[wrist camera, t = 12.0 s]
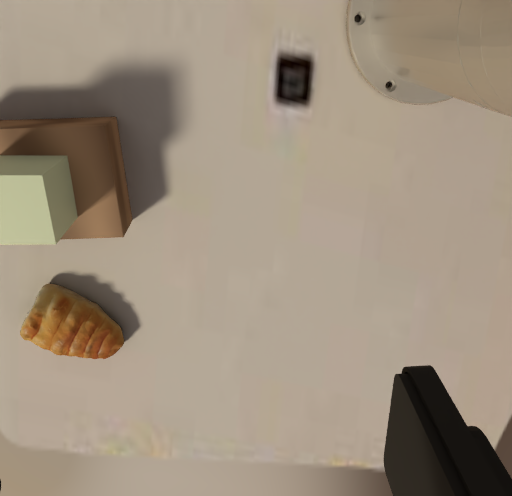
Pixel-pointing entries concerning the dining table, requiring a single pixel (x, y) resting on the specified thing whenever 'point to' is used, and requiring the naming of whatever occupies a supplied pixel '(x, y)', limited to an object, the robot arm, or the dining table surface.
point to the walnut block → (80, 167)
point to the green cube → (35, 199)
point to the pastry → (71, 325)
